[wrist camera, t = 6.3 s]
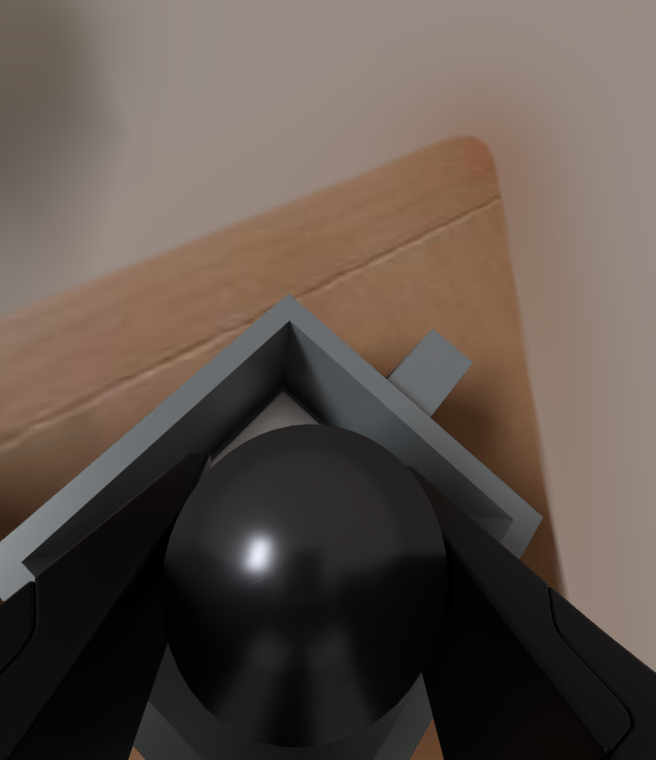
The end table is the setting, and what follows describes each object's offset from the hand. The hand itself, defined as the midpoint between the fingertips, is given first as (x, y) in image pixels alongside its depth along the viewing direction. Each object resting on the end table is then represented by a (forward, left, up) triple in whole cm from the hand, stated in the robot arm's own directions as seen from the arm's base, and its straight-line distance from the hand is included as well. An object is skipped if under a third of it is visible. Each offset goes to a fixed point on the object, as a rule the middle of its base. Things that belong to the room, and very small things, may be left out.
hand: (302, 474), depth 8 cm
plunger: (-1, -1, -6) cm, 6 cm away
